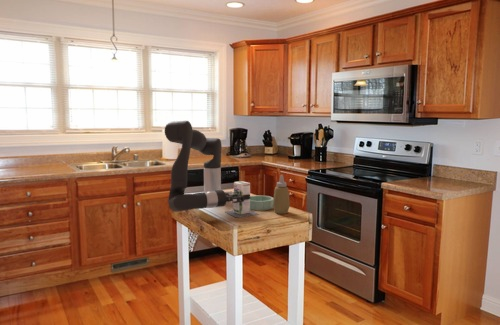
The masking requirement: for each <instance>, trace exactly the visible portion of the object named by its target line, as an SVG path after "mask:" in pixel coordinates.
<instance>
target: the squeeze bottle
mask: <svg viewBox="0 0 500 325" xmlns="http://www.w3.org/2000/svg"><path fill="white" fill-rule="evenodd" d="M278 180H279V181H277V182H276V186H275V187H274V193H273V198H274V200H273V210H274V213H275V214H279V215H284V214H287V213H288V212H289V210H290V208H291V202H290V193H289V192H290V191H289V187H287V186H288V185H287V182H286V181H285V178H284V174H280V176H279V179H278Z"/></svg>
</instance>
